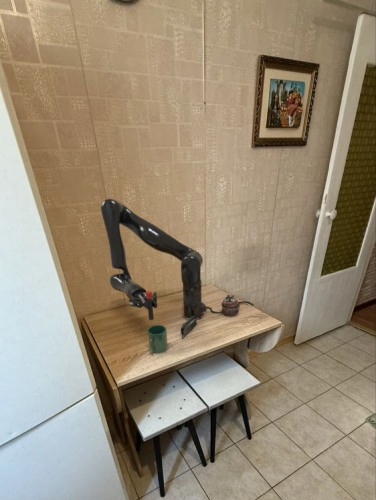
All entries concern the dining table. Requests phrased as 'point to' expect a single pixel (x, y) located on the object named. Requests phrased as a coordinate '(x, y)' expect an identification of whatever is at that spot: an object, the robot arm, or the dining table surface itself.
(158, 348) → the mug
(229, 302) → the cupcake
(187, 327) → the mobile phone
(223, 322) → the dining table surface
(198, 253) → the robot arm
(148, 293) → the marker
